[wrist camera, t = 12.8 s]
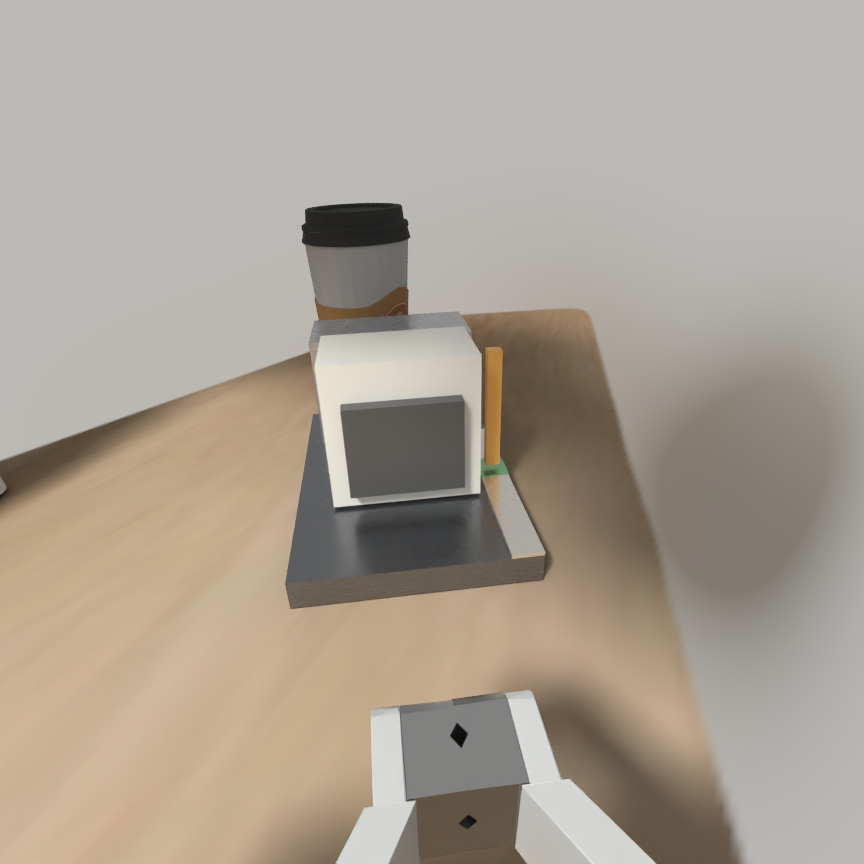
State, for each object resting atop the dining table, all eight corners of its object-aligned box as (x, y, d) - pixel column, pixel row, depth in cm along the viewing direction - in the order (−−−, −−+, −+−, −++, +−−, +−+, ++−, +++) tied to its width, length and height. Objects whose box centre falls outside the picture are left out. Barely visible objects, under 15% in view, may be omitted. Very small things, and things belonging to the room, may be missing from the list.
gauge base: (544, 579, 26) (557, 421, 22) (290, 608, 25) (257, 447, 21) (472, 419, 42) (473, 310, 38) (315, 432, 41) (299, 321, 37)
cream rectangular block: (512, 498, 29) (518, 358, 26) (333, 516, 28) (313, 373, 25) (489, 447, 34) (491, 324, 31) (336, 461, 34) (320, 335, 30)
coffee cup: (380, 418, 43) (363, 214, 36) (302, 398, 47) (273, 211, 40) (435, 382, 49) (429, 203, 42) (362, 367, 53) (346, 201, 46)
